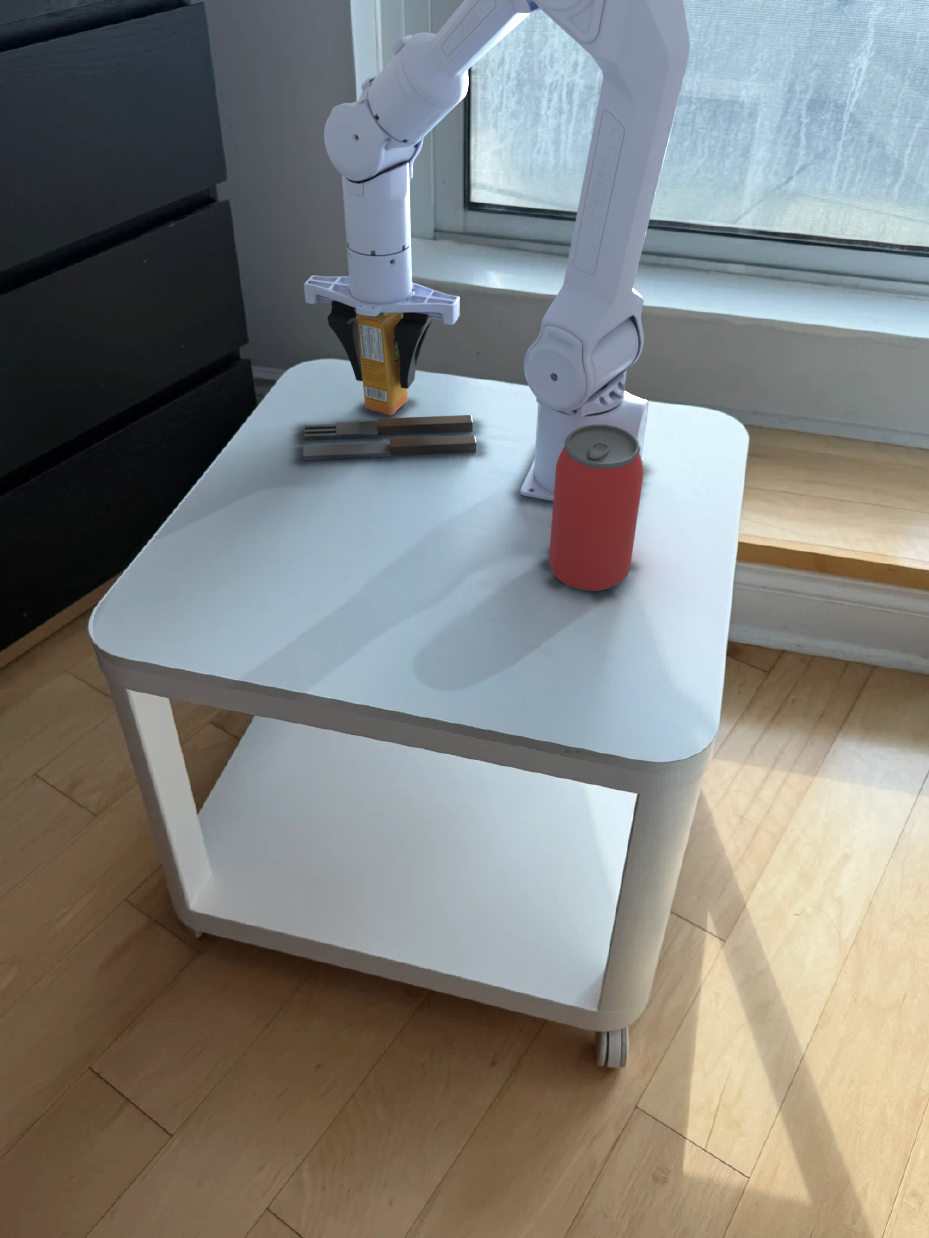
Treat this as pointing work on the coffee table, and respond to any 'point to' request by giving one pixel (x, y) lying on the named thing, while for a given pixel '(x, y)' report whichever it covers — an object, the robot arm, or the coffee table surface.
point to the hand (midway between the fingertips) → (385, 379)
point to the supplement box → (380, 362)
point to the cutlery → (397, 444)
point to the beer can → (595, 507)
